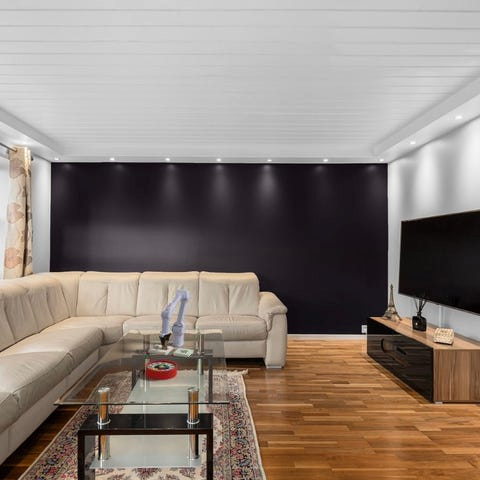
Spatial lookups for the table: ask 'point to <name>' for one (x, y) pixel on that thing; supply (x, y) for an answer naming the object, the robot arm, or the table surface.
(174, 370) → the toy clock
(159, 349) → the socket block
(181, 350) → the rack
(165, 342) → the peg
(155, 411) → the table surface
